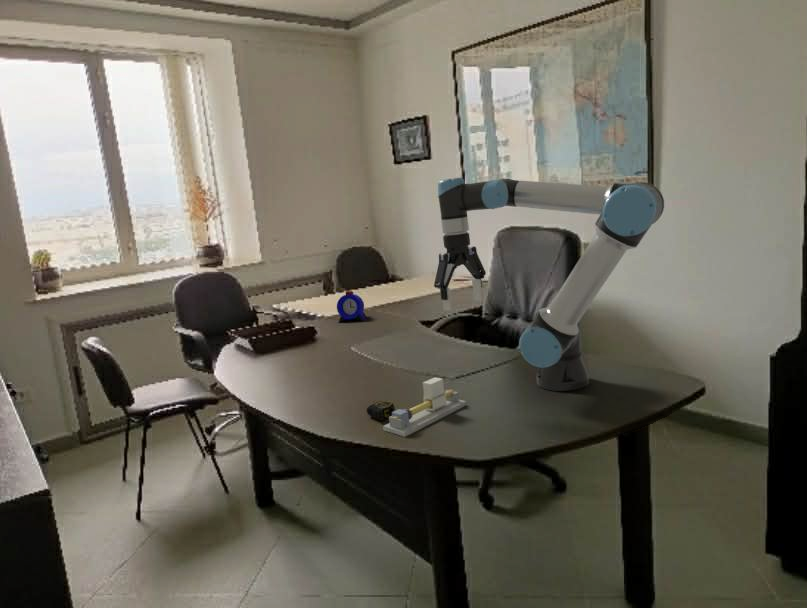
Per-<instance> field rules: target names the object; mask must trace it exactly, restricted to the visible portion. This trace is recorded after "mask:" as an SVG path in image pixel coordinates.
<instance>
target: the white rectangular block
mask: <svg viewBox="0 0 807 608" xmlns="http://www.w3.org/2000/svg"><path fill="white" fill-rule="evenodd" d="M422 389H423V397H422V398H423V403H424V402H426V401H428V400H432V406H431V407H429V408H427V409H426V410H430V411H434V412H435V411H437V410H439V409H441V408H443V407H445V406H447V405H446V395H445V393H444V391H445V386H444V379H443V378H440V377H435V376H434V377H432V378H430V379H428V380H426V381H423V382H422Z"/></svg>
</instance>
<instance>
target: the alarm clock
mask: <svg viewBox="0 0 807 608" xmlns="http://www.w3.org/2000/svg"><path fill="white" fill-rule="evenodd" d="M364 302H365V301H364V300H363V299H362V297H360V295H358V294H354V292H353V291H352V290H348V291H345V294H344V295H342V296H340V298H339V299H338V301H337V304H336V310H337V311H336V312H337V313H338V315H339V316H340V317H339V320H338V324H339V323H341V322H344V321H346V320H352V319H355V320H357V321H360V322H363V321H364V320H365V319H367V315H366V314H365V313H364V310H365V303H364Z"/></svg>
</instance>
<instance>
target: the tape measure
mask: <svg viewBox="0 0 807 608" xmlns="http://www.w3.org/2000/svg"><path fill="white" fill-rule="evenodd" d="M394 411H396V410H395V405H394V403H393V402H392V401H389V400H380V401H376V402H374V403H373V404H370V405H369V406H367V407H366V414H367V415H369V416H370V417H372V418H375V419H376V420H379V421H383V420H385V419H389V417H390V416H392V412H394Z"/></svg>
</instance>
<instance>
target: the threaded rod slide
mask: <svg viewBox="0 0 807 608" xmlns="http://www.w3.org/2000/svg"><path fill="white" fill-rule="evenodd" d="M444 393H445V395H446V405H447V406H445V407H443V408H441V409H439V410H437V411H435V412H434V411H430V410H426V409H427V408H429V407H431V406H432V400H428V401H426V402H424V401H423V403H420V404H417V405H416V406H414V407H411V408H404V409H401V408H398V409H396V410H395V411H394V412H392V416H390V417H389V418H388V421H389V423H387V424H384V425H382V429H383V432H384V431H385V432H388V433H391V434H395V435H398V436H400V437H403V438H405V437H408V436H409V435H412V434H414V433H415V432H417V431H419V430H421V429H423V428H426V427H427V426H429V425H431V424H433V423H434V422H437V421H439V420H441V419H442V418H444V417H446V416H448V415H450V414H452V413H455V412H456V411H458V410H460V409H462V408H464V407H466V406H467V400H462V399H460V393H459V392H458V391H455V390H453V389H446V390H445V389H444Z"/></svg>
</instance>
